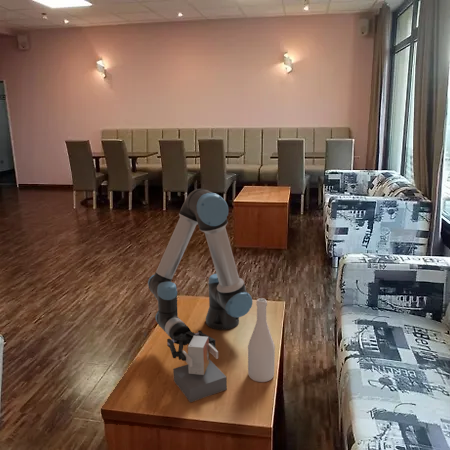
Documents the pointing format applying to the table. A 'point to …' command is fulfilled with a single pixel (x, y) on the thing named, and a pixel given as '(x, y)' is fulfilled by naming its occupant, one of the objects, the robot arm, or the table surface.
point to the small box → (199, 354)
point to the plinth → (200, 382)
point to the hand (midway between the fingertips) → (204, 359)
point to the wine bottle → (261, 347)
